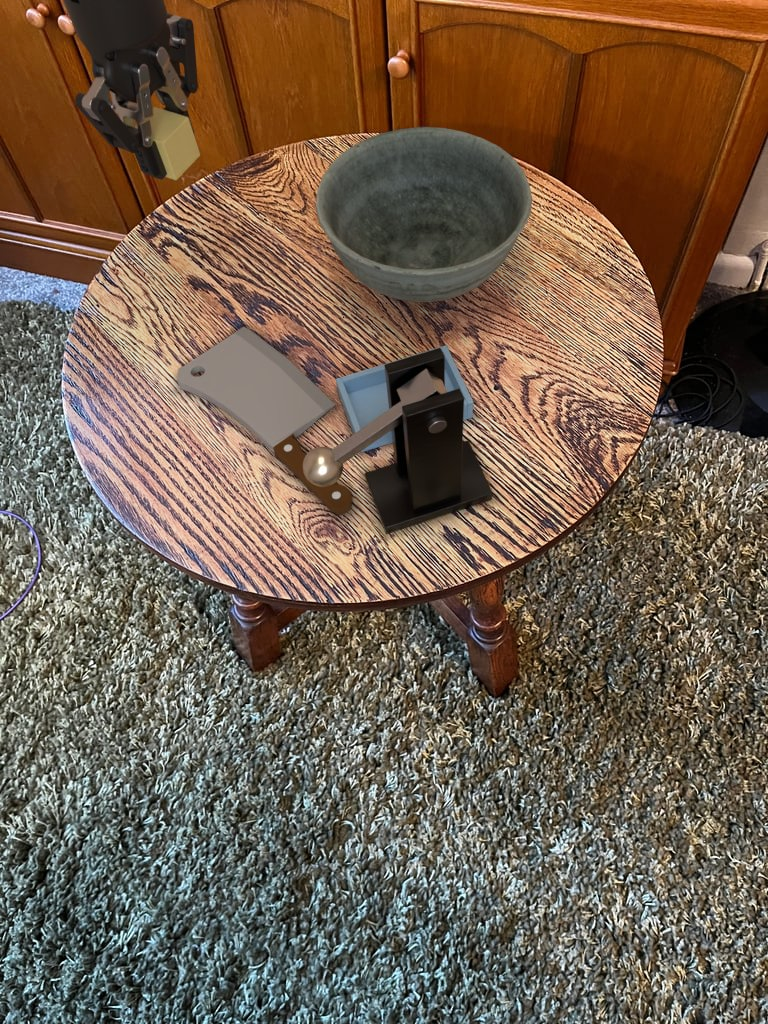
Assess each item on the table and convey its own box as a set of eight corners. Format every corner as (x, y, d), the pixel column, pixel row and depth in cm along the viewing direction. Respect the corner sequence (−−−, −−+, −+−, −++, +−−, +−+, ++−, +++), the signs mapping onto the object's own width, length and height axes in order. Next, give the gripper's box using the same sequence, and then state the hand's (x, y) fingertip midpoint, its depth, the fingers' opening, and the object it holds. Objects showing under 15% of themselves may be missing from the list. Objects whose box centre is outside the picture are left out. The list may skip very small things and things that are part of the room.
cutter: (385, 534, 68) (370, 434, 54) (365, 479, 70) (345, 370, 56) (492, 499, 68) (504, 392, 55) (468, 446, 71) (473, 331, 57)
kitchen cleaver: (405, 462, 70) (320, 527, 67) (405, 468, 71) (321, 532, 68) (247, 319, 80) (166, 370, 77) (249, 327, 81) (169, 377, 77)
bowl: (289, 291, 82) (270, 215, 73) (404, 178, 89) (399, 96, 80) (450, 377, 75) (451, 305, 66) (561, 247, 82) (575, 166, 73)
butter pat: (176, 181, 73) (162, 143, 69) (143, 169, 74) (128, 131, 70) (200, 155, 74) (188, 117, 71) (167, 144, 75) (154, 106, 72)
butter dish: (360, 453, 72) (357, 438, 70) (338, 394, 75) (335, 378, 73) (472, 417, 73) (473, 401, 71) (446, 361, 76) (446, 344, 74)
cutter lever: (325, 498, 62) (300, 488, 59) (314, 467, 63) (290, 455, 61) (457, 409, 57) (436, 393, 55) (442, 377, 59) (421, 360, 56)
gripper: (120, -89, 63) (183, 108, 78) (3, 3, 57) (95, 196, 72) (194, -73, 61) (244, 127, 76) (79, 25, 55) (158, 219, 70)
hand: (171, 160), depth 74 cm, fingers closed on butter pat, 4 cm apart
